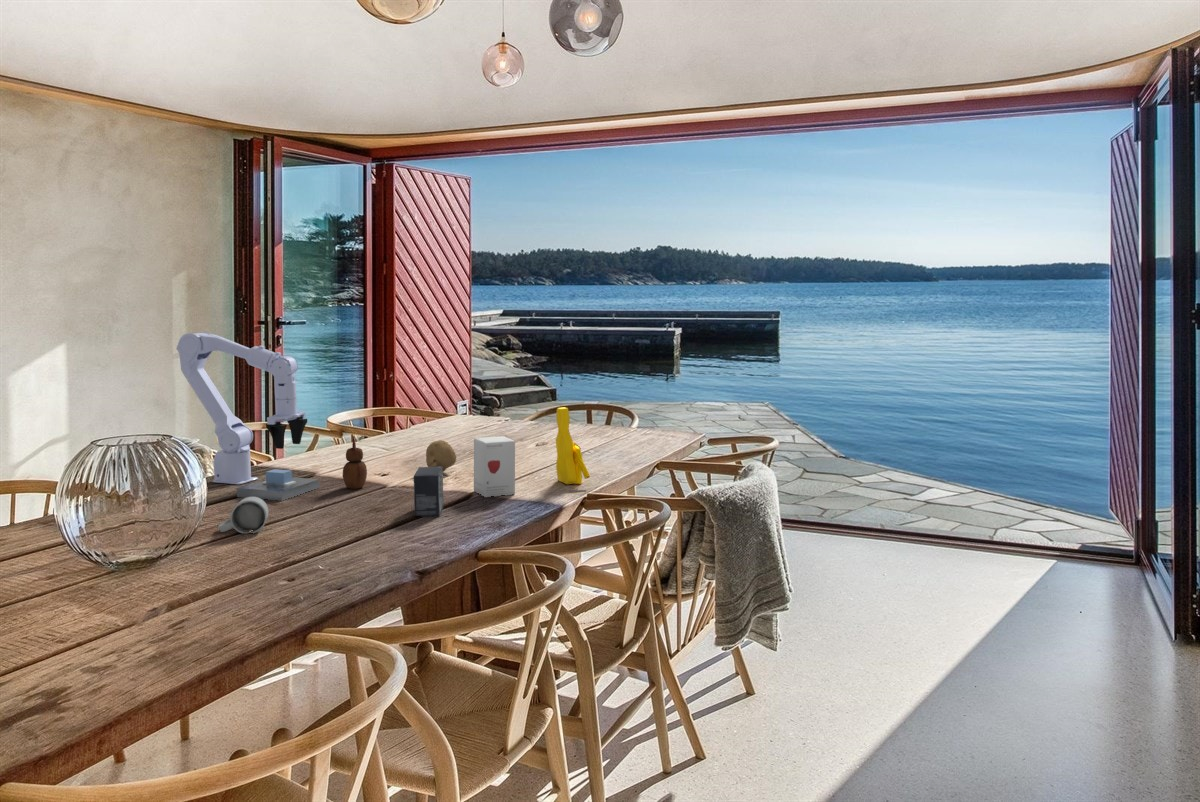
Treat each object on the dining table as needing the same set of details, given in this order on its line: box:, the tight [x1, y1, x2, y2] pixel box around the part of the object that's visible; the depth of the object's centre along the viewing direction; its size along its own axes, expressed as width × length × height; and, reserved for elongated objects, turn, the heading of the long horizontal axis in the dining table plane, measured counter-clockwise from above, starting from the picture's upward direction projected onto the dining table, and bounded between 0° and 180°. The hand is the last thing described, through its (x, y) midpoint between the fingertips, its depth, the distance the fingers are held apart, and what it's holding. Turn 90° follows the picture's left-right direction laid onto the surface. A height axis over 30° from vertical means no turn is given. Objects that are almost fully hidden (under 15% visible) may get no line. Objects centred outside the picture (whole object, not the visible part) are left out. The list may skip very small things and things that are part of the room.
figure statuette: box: [555, 406, 591, 485], centre depth 251 cm, size 18×8×22 cm, turn 28°
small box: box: [413, 466, 445, 518], centre depth 217 cm, size 11×6×10 cm, turn 5°
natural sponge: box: [425, 439, 457, 473], centre depth 264 cm, size 9×9×10 cm
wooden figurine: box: [342, 435, 368, 490], centre depth 243 cm, size 7×6×15 cm
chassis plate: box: [236, 476, 320, 502], centre depth 237 cm, size 14×16×2 cm
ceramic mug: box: [217, 497, 269, 535], centre depth 199 cm, size 11×8×8 cm
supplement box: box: [473, 435, 516, 498], centre depth 238 cm, size 9×9×15 cm
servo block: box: [262, 468, 296, 486], centre depth 236 cm, size 8×4×6 cm, turn 73°
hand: (288, 446), depth 249 cm, fingers open, 7 cm apart
